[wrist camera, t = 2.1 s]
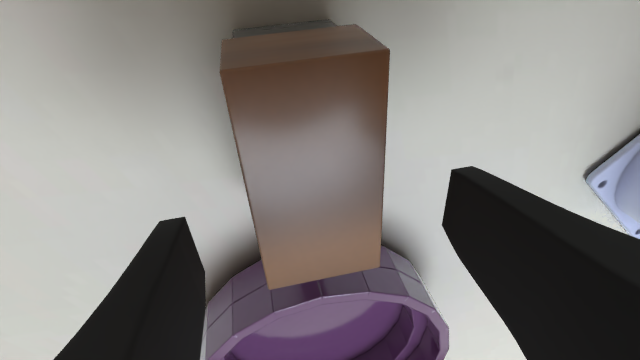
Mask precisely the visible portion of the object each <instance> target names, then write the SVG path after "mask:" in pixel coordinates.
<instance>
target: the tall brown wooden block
mask: <svg viewBox="0 0 640 360" xmlns="http://www.w3.org/2000/svg"><path fill="white" fill-rule="evenodd" d="M389 60H390V50H389V48H387V47H386V46H385V45H383V44H382V43H381V42H379V41H378V40H377V39H375V38H374V37H373V36H371V35H370V34H369V33H367V32H366V31H365V30H363V29H362V28H361V27H359V26H358V25H356V24H352V25H344V26H336V25H335V24H334V23H333V22H332V21H331V20H329V19H328V20H319V21H310V22H301V23H293V24H284V25H275V26H266V27H257V28H248V29H239V30H234V31H233V38H231V39H223V40H222V44H221V59H220V76H221V81H222V85H223V90H224V94H225V99H226V103H227V107H228V112H229V116H230V121H231V125H232V130H233V134H234V139H235V143H236V148H237V152H238V157H239V161H240V166H241V170H242V174H243V179H244V183H245V188H246V192H247V197H248V201H249V206H250V210H251V215H252V219H253V224H254V228H255V232H256V237H257V241H258V246H259V250H260V255H261V259H262V264H263V268H264V273H265V277H266V282H267V286H268V289H269V290H271V289H276V288H281V287H286V286H291V285H296V284H300V283H305V282H310V281H315V280H320V279H325V278H330V277H335V276H339V275H344V274H349V273H354V272H359V271H364V270H369V269H373V268H378V267H380V253H381V232H382V210H383V189H384V168H385V146H386V125H387V103H388V82H389Z"/></svg>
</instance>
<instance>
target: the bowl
mask: <svg viewBox="0 0 640 360" xmlns="http://www.w3.org/2000/svg"><path fill="white" fill-rule="evenodd" d="M448 350H449V327H448V325H447V323H446V321H445V320H444V318H443V316H442V314H441V312H440V311H439V309H438V307H437V305H436V303H435V302H434V300H433V298H432V296H431V294H430V292H429V291H428V289H427V287H426V285H425V283H424V282H423V280H422V278H421V277H420V275H419V274H418V272H417V271H416V269H415V268H414V267H413V265H412V264H411V262H410V261H409V260H407V259H405V258H404V257H402V256H400V255H398V254H397V253H395V252H393V251H391V250H390V249H388V248H386V247H384V246H381V253H380V267H378V268H373V269H369V270H364V271H359V272H354V273H349V274H344V275H339V276H335V277H330V278H325V279H320V280H315V281H310V282H305V283H300V284H296V285H291V286H286V287H281V288H276V289H271V290H269V289H268V286H267V282H266V277H265V273H264V268H263V264H262V259H261V260H260V261H258V262H256V263H254V264H253V265H251V266H249V267H248V268H246V269H244V270H243V271H241V272H239V273H238V274H236V275H234V276H233V277H232V278H231V279H230V280H229V281H228V282H227V283H226V284H225V285H224V286H223V287H222V288H221V289H220V290H219V291H218V293H217V294H216V295H215V296H214V297H213V298H212V299H211V300H210V301H209V302H208V305H207V307H206V310H205V318H204V328H203V337H202V346H201V355H200V360H444V358H445V356H446V354H447V352H448Z"/></svg>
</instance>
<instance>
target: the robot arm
mask: <svg viewBox="0 0 640 360" xmlns="http://www.w3.org/2000/svg"><path fill="white" fill-rule="evenodd" d="M586 182H587V184H588V185H589V186H590V187H591V188H592V190H593V191H594V192H595V193H596V195H597V196H598V197H599V198H600V199H601V201H602V202H603V203H604V204H605V206H606V207H607V208H608V209H609V210H610V212H611V213H612V214H613V215H614V217H615V218H616V219H617V220H618V221H619V223H620V224H621V225H622V226H623V228H624V229H625V230H626V231H627V233H628V234H629V235H627V234H624V233H621V232H619V231H616V230H614V229H611V228H609V227H606V226H604V225H601V224H599V223H596V222H594V221H592V220H589V219H587V218H584V217H582V216H580V215H577V214H575V213H573V212H570V211H568V210H566V209H564V208H562V207H559V206H557V205H555V204H553V203H551V202H548V201H546V200H544V199H542V198H540V197H538V196H536V195H534V194H531V193H529V192H527V191H525V190H523V189H521V188H519V187H517V186H515V185H513V184H511V183H509V182H507V181H505V180H502V179H500V178H498V177H496V176H494V175H492V174H490V173H487V172H485V171H483V170H481V169H478V168H476V167H473V166H470V167H464V168H458V169H453V170H451V176H450V182H449V188H448V193H447V199H446V205H445V210H444V216H443V222H442V226H443V228H444V230H445V232H446V234H447V236H448V238H449V240H450V242H451V244H452V246H453V248H454V250H455V252H456V254H457V255H458V257H459V258H460V260H461V261H462V263H463V264H464V266H465V267H466V269H467V270H468V272H469V273H470V274H471V276H472V277H473V279H474V280H475V282H476V283H477V284H478V286H479V287H480V289H481V290H482V291H483V293H484V294H485V296H486V297H487V299H488V300H489V301H490V303H491V304H492V306H493V307H494V309H495V310H496V311H497V313H498V314H499V316H500V317H501V318H502V320H503V321H504V323H505V324H506V326H507V327H508V329H509V330H510V332H511V334H512V335H513V337H514V338H515V340H516V342H517V343H518V345H519V347H520V349H521V350H522V352H523V354H524V356H525V357H526V359H527V360H640V134H639V135H638V136H637V137H636V138H634V139H633V140H632V141H630V142H629V143H628V144H627V145H625V146H624V147H623V148H622V149H620V150H619V151H618V152H617V153H615V154H614V155H613V156H612V157H610V158H609V159H608V160H607V161H605V162H604V163H603V164H602V165H600V166H599V167H598V168H596V169H595V170H594V171H593V172H591V173H590V174H589V175H588V177H587V180H586ZM204 318H205V271H204V268H203V265H202V263H201V260H200V257H199V254H198V252H197V249H196V246H195V243H194V241H193V238H192V235H191V232H190V230H189V227H188V224H187V221H186V219H185V217H181V218H175V219H169V220H164V221H160V222H159V223H158V224H157V226H156V227H155V228H154V230H153V231H152V233H151V234H150V236H149V237H148V238H147V240H146V241H145V243H144V244H143V246H142V247H141V249H140V250H139V252H138V253H137V254H136V256H135V257H134V259H133V260H132V262H131V263H130V264H129V266H128V267H127V269H126V270H125V271H124V273H123V274H122V275H121V277H120V278H119V280H118V281H117V282H116V284H115V285H114V286H113V288H112V289H111V291H110V292H109V293H108V295H107V296H106V297H105V298H104V300H103V301H102V302H101V304H100V305H99V306H98V307H97V309H96V310H95V311H94V312H93V314H92V315H91V316H90V317H89V319H88V320H87V321H86V322H85V324H84V325H83V326H82V327H81V329H80V330H79V331H78V332H77V333H76V335H75V336H74V337H73V338H72V339H71V340H70V342H69V343H68V344H67V345H66V346H65V347H64V348H63V350H62V351H61V352H60V353H59V354H58V355H57V356H56V357H55V358H54V360H200V355H201V346H202V337H203V328H204Z"/></svg>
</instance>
